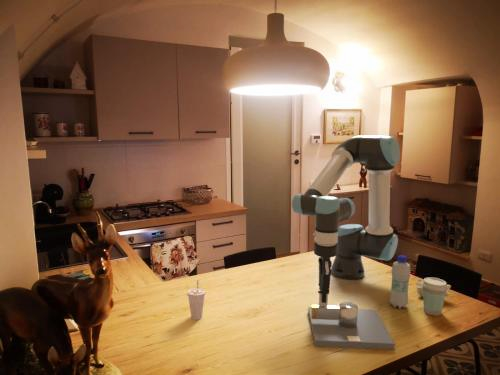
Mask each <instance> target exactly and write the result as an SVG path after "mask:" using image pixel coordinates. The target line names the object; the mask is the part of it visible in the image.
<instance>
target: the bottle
mask: <svg viewBox="0 0 500 375" xmlns="http://www.w3.org/2000/svg"><path fill="white" fill-rule="evenodd" d="M407 260H408V259H407V256H406V255H403V254H402V255H401V254H400V255H399V254H398V256H397V257H396V261H394V262H392V266H391V276H392V277H391V288H390V290H391V291H390V295H389V296H390V297H389V303H390V305H391V306H393V308H397V307H398V309H401V308H402V309H405V308H406V307H407V306H408V303H409V283H410V282H409V281H410V278H411V273H412V272H411V264H410V263H408V262H407Z"/></svg>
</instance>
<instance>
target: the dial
mask: <svg viewBox="0 0 500 375" xmlns="http://www.w3.org/2000/svg"><path fill="white" fill-rule="evenodd" d="M310 307H311V318H312V319H325V320H339V324H340V325H341V326H343V327H347V328H353V327H356V326H357V315H358V309H359V306H358V305H357V304H355V303H353V302H348V301H343V302H341V303H339V305H327V306H326V305H319V304H311V306H310Z"/></svg>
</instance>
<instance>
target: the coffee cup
mask: <svg viewBox="0 0 500 375" xmlns="http://www.w3.org/2000/svg"><path fill="white" fill-rule="evenodd" d="M422 281H423V282H422V286H423V297H422V300H423V304H422V305H423V312H424V313H426V314H427V315H430V316H433V317H434V316H436V317H437V316H441V315H442V312H443V308H444V305H445V304H444V303H445V299H446V296H445V295H446V290H447V289H448V288H447V287H448V286H447V285H448V284H447V283H448V282H446V281H445V280H444V279H440V278H439V277H430V276H429V277H425V278H424V279H423V280H422ZM447 291H448V290H447Z"/></svg>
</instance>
